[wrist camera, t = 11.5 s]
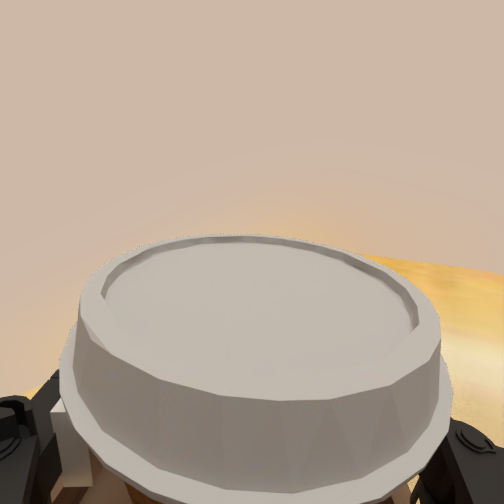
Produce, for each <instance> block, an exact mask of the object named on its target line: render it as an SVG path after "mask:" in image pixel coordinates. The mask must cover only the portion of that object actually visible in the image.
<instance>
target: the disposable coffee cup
mask: <svg viewBox="0 0 504 504" xmlns="http://www.w3.org/2000/svg"><path fill="white" fill-rule="evenodd" d="M440 349H441V332H440V317H439V315H438V313H437V312H436V310H435V308H434V306H433V305H432V303H431V301H430V300H429V299H428V298H427V297H426V295H425V294H424V293H423V292H422V291H421V290H420V289H418V288H417V287H416V286H415V285H413V284H412V283H411V282H410V281H408V280H407V279H406V278H404V277H403V276H401V275H399V274H398V273H396V272H394V271H393V270H391V269H390V268H388V267H386V266H383V265H381V264H379V263H377V262H375V261H372V260H370V259H368V258H365V257H363V256H360V255H358V254H355V253H351V252H349V251H346V250H342V249H339V248H335V247H331V246H328V245H324V244H318V243H314V242H309V241H304V240H299V239H294V238H287V237H279V236H269V235H260V234H209V235H198V236H187V237H181V238H175V239H168V240H163V241H160V242H157V243H153V244H149V245H145V246H141V247H138V248H136V249H134V250H131V251H129V252H127V253H125V254H122V255H120V256H118V257H116V258H113V259H112V260H110V261H109V262H108V263H106V264H105V265H104V266H103V267H101V268H100V269H99V270H97V272H95V273H94V274H92V275H91V276H90V278H89V280H88V282H87V284H86V286H85V287H84V289H83V291H82V293H81V295H80V303H79V311H78V321H77V322H76V323H75V324H74V326H73V327H72V328H71V329H70V332H69V335H68V338H67V340H66V343H65V346H64V348H63V351H62V354H61V356H60V359H59V367H60V368H59V378H60V395H61V398H62V401H63V405H64V408H65V411H66V414H67V417H68V420H69V422H70V423H71V425H72V426H73V427H74V428H75V430H76V431H77V432H78V434H79V435H80V436H81V438H82V439H83V440H84V442H85V443H86V444H87V446H88V447H89V448H90V449H91V451H92V452H93V453H94V455H95V456H96V457H97V459H98V460H99V461H100V463H101V464H102V465H103V466H104V468H106V469H107V470H109V471H110V472H112V473H113V474H115V475H116V476H118V477H119V478H121V479H122V480H123V481H124V483H125V487H126V489H127V491H128V494H129V496H130V498H131V502H132V504H376V503H379V502H383V501H384V500H386V499H387V498H388V497H389V496H391V495H392V494H393V493H395V492H396V491H397V490H398V489H400V488H401V487H402V486H404V485H405V484H406V483H407V482H409V481H410V480H411V479H412V478H414V477H415V476H416V475H418V474H419V473H420V472H421V471H423V470H424V469H425V467H426V465H427V464H428V462H429V461H430V459H431V458H432V456H433V455H434V453H435V451H436V450H437V448H438V447H439V445H440V444H441V442H442V440H443V439H444V437H445V436H446V434H447V433H448V431H449V424H450V416H451V409H452V401H453V389H452V385H451V381H450V377H449V373H448V369H447V365H446V363H445V361H444V359H443V357H442V355H441V354H440Z"/></svg>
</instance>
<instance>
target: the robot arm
mask: <svg viewBox="0 0 504 504" xmlns="http://www.w3.org/2000/svg"><path fill="white" fill-rule="evenodd" d="M101 467H102V464H101V463H100V461H99V460H98V459H97V457H96V456H95V455H94V453H93V452H92V451H91V449H90V448H89V447H88V446H87V444H86V443H85V442H84V440H83V439H82V438H81V436H80V435H79V434H78V432H77V431H76V430H75V428H74V427H73V426H72V425H71V423H70V422H69V420H68V417H67V414H66V411H65V408H64V405H63V401H62V398H61V395H60V378H59V370H57V371H56V372H55V373H54V374H53V375H52V376H51V378H50V380H48V381H47V382H46V383H45V384H44V385H43V386H42V388H41V389H40V390H39V391H38V392H37V393H36V394H35V396H34V397H33V398H32V399H31V400H29V399H28V398H27V397H25V396H17V395H14V396H8V397H2V398H0V504H52V501H51V491H52V489H53V487H54V486H55V484H56V482H57V480H58V479H59V477H60V475H62V480H63V486H64V487H86V486H94V483H95V481H96V479H97V477H98V474H99V472H100V470H101ZM418 475H419V476H420V477H419V479H418V481H417V483H416V485H415V488H414V490H413V492H412V494H411V496H410V504H416V502H417V500H418V498H419V500H420V504H504V448H502V447H498V446H495V445H494V443H493V442H492V441H491V440H490V439H488V438H487V437H486V436H485V435H484V434H483V433H481V432H480V431H478V430H477V429H475V428H474V427H472V426H470V425H468V424H466V423H464V422H462V421H457V420H453V419H452V418H451V416H450V424H449V431H448V433H447V434H446V436H445V437H444V439H443V440H442V442H441V444H440V445H439V447H438V448H437V450H436V451H435V453H434V455H433V456H432V458H431V459H430V461H429V462H428V464H427V465H426V467H425V469H424V470H423V471H421V472H420V473H419V474H418Z"/></svg>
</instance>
